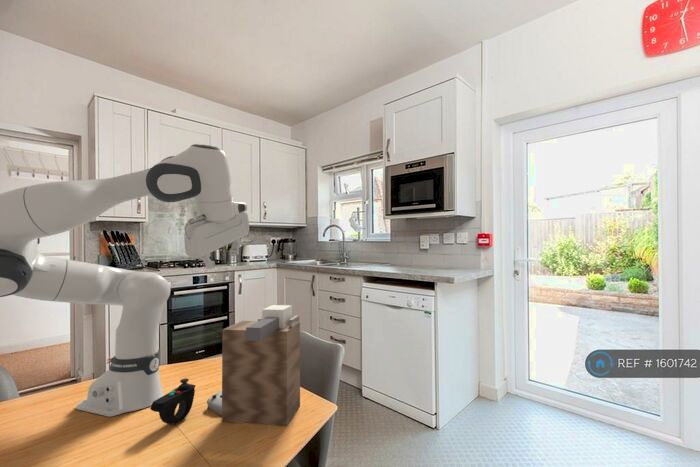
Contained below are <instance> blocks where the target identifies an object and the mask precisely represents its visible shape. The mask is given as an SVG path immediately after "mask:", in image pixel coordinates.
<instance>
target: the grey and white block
mask: <svg viewBox="0 0 700 467" xmlns="http://www.w3.org/2000/svg"><path fill="white" fill-rule="evenodd" d="M261 310H262V315H261V317H262V320H260V321H258V320H257V321H258V322H256V323H254V324H252V325H250V326H248V327H246V340H249V341H261V340H262V339H264V338H265V337H267V336H268V335H270V334H271V333H273V332H275V331H276V330H278V329H284V328H285V327H287V326H288V325H289V320H290V319H291V318H293V305H290V304H289V305H288V304H279V305H278V304H272V305H270V306H267V307H264V308H263V309H261Z"/></svg>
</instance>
